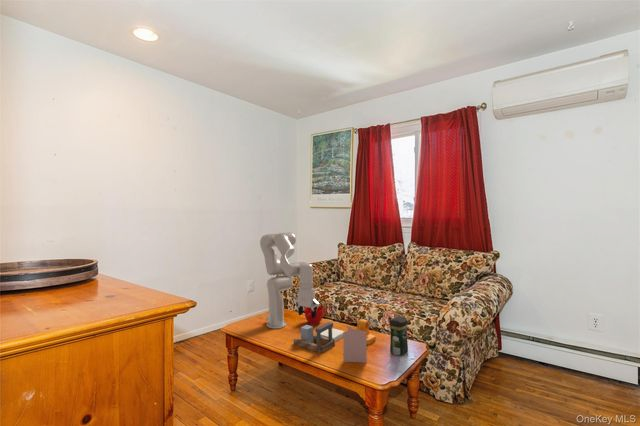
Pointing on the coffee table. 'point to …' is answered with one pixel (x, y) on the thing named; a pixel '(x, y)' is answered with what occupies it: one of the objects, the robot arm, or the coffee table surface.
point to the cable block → (307, 333)
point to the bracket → (366, 330)
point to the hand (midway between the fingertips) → (307, 316)
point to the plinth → (333, 334)
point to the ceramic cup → (318, 315)
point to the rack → (314, 347)
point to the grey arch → (323, 328)
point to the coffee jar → (398, 336)
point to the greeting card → (354, 346)
